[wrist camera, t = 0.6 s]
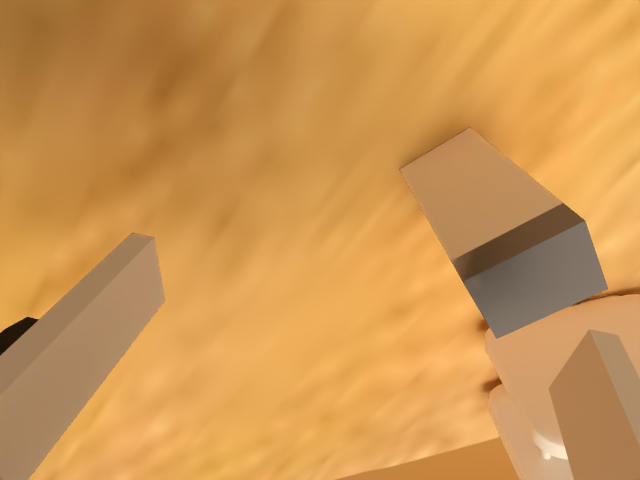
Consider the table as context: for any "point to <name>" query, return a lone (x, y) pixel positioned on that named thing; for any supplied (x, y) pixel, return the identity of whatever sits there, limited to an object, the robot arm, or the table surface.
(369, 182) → the table surface
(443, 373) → the table surface
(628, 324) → the white lumpy block
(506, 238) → the plug
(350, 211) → the table surface
